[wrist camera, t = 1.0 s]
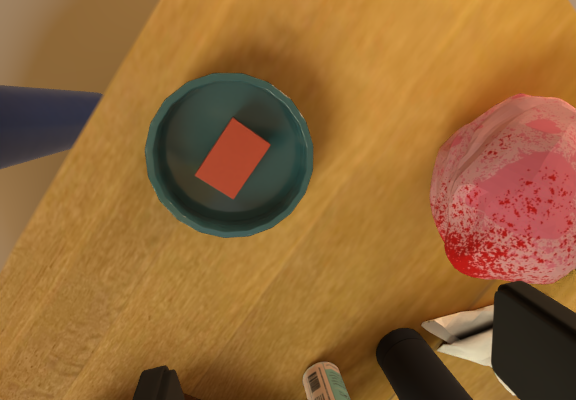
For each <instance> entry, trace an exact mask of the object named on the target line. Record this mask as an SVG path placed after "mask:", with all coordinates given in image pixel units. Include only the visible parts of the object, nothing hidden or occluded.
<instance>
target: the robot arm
mask: <svg viewBox="0 0 576 400" xmlns="http://www.w3.org/2000/svg"><path fill="white" fill-rule="evenodd" d="M491 365H492V368H493V370H494V372H495V374H496V375H497V376H498V377H499V378H500V379H501V380H502V381H503V382H504V383H505V384H506V385H507V386H508V388H509V389H510V390H511V391H512V392H513V393H514V394H515V395H516V396H517V397H518V398H519V399H520V400H576V313H575V312H573V311H571V310H570V309H568V308H567V307H565V306H563V305H562V304H560V303H558V302H557V301H555V300H554V299H552V298H550V297H549V296H547V295H545V294H544V293H542V292H540V291H539V290H537V289H536V288H534V287H532V286H531V285H529V284H527V283H526V282H524V281H515V282H511V283H506V284H502V285H500V286H499V287H498V291H497V292H496V293H495V296H494V314H493V332H492V351H491ZM132 400H185V398H184V395H183V392H182V389H181V386H180V382H179V379H178V376H177V373H176V371H175V370H169V369H168V367H167V366H161V367H157V368H152V369H148V370H144V371H143V372H142V374H141V376H140V379H139V382H138V385H137V388H136V390H135V393H134V396H133V399H132Z"/></svg>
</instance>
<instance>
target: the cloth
mask: <svg viewBox="0 0 576 400" xmlns="http://www.w3.org/2000/svg"><path fill="white" fill-rule="evenodd" d="M493 314H494V305H491V306H486V307H483V308H480V309H477V310H474V311H464V312H459V313H455V314H452V315H448V316H444V317H440V318H436V319H433V320H429V321H425V322H422V324H421V326H422V327H423V328H425V329H426V330H427V331H429V332H430V333H432V334H434V335H436V336H437V337H439V338H441V339H443V340H445V341H446V342H448V343H450V344H452V345H450V344H443V345H442V346H441V347H440V348H438V349H437V351H439V352H442V353H446V354H449V355H453V356H456V357H460V358H463V359H467V360H470V361H473V362H476V363H479V364H482V365H484V366H490V367H492V365H491V351H492V332H493ZM494 373H495V372H494ZM495 375H496V374H495ZM496 376H497V375H496ZM497 378H498V380H499V381H500V382H501V384H502V385H503V386H504V387H505V388H506V389H507V390H508V391H509V392H510V393H511V394H512V395H513V396H515V394H514V393H513V392H512V391H511V390H510V389H509V388H508V386H507V385H506V384H505V383H504V382H503V381H502V380H501V379H500V378H499V377H498V376H497Z"/></svg>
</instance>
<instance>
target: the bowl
mask: <svg viewBox="0 0 576 400" xmlns="http://www.w3.org/2000/svg"><path fill="white" fill-rule="evenodd" d="M232 117H234V118H235V119H237V120H238V121H239V122H241V123H242V124H244V125H245V126H247V127H248V128H249V129H251V130H252V131H254V132H255V133H256V134H258V135H259V136H261V137H262V138H264V139H265V140H266V141H268V142H269V143H270V144H271V146H270V147H269V148H268V150H267V151H266V153H265V154H264V156H263V157H262V159H261V160H260V162H259V163H258V164H257V166H256V167H255V169H254V170H253V172H252V173H251V175H250V176H249V178H248V179H247V180H246V182H245V183H244V185H243V186H242V188H241V189H240V191H239V192H238V193H237V195H236V196H235V198H234V199H232V198H230V197H229V196H227V195H226V194H224V193H222V192H221V191H219V190H217V189H216V188H214V187H213V186H211V185H209V184H208V183H206V182H204V181H203V180H201V179H200V178H198V177H196V176H195V174H196V172H197V170H198V168H199V167H200V165H201V164H202V162H203V161H204V159H205V158H206V156H207V155H208V153H209V152H210V150H211V148H212V147H213V145H214V144H215V142H216V141H217V139H218V138H219V136H220V135H221V133H222V132H223V130H224V129H225V127H226V126H227V124H228V123H229V121H230V120H231V118H232ZM145 156H146V164H147V172H148V177H149V180H150V182H151V184H152V186H153V188H154V190H155V192H156V194H157V196H158V198H159V200H160V202H161V203H162V204H163V205H164V206H165V207H166V208H167V209H168V210H169V211H170V212H171V213H172V214H173V215H174V216H175V217H176V218H177V219H178V220H179V221H181V222H183V223H184V224H186V225H188V226H190V227H192V228H193V229H195V230H197V231H199V232H201V233H206V234H210V235H214V236H219V237H223V238H224V237H225V238H230V237H245V236H251V235H254V234H256V233H259V232H262V231H265V230H267V229H270V228H272V227H274V226H275V225H276V224H278V223H279V222H280V221H282V220H283V219H284V218H286V217H287V216H288V215H290V214H291V213H292V211H293V210H294V208H295V207H296V206H297V204H298V203H299V202H300V200H301V199H302V197H303V196H304V195H305V193H306V190H307V187H308V184H309V181H310V178H311V175H312V172H313V143H312V140H311V136H310V133H309V130H308V126H307V123H306V120H305V119H304V118H303V116H302V115H301V113H300V112H299V110H298V109H297V107H296V106H295V104H294V103H293V101H292V100H291V99H290V98H289V97H287V96H286V95H285V94H283V93H282V92H281V91H280V90H278V89H277V88H276V87H274V86H273V85H272V84H270V83H269V82H266V81H263V80H261V79H258V78H255V77H252V76H249V75H246V74H242V73H212V74H209V75H206V76H203V77H201V78H198V79H195V80H192V81H189V82H187V83H185V84H184V85H183V86H182V87H180V88H179V89H178V90H176V91H175V92H174V93H173V94H171V95H170V96H169V97H168V98H166V99H165V100H164V102H163V104H162V105H161V107H160V108H159V110H158V112H157V113H156V115H155V117H154V118H153V120H152V121H151V124H150V127H149V132H148V137H147V142H146V146H145Z"/></svg>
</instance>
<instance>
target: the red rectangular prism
mask: <svg viewBox="0 0 576 400" xmlns="http://www.w3.org/2000/svg"><path fill="white" fill-rule="evenodd" d="M270 146H271V144H270V143H269V142H268V141H266V140H265V139H264V138H262V137H261V136H259V135H258V134H256V133H255V132H254V131H252V130H251V129H249V128H248V127H247V126H245V125H244V124H242V123H241V122H239V121H238V120H237V119H235V118H234V117H232V118H231V120H230V121H229V123H228V124H227V126H226V127H225V129H224V130H223V132H222V133H221V135H220V136H219V138H218V139H217V141H216V142H215V144H214V145H213V147H212V148H211V150H210V152H209V153H208V155H207V156H206V158H205V159H204V161H203V162H202V164H201V165H200V167H199V168H198V170H197V172H196V174H195V176H196V177H198V178H200V179H201V180H203V181H204V182H206V183H208V184H209V185H211V186H213V187H214V188H216V189H217V190H219V191H221V192H222V193H224V194H226V195H227V196H229V197H230V198H232V199H234V198H235V196H236V195H237V193H238V192H239V191H240V189H241V188H242V186H243V185H244V183H245V182H246V180H247V179H248V178H249V176H250V175H251V173H252V172H253V170H254V169H255V167H256V166H257V164H258V163H259V162H260V160H261V159H262V157H263V156H264V154H265V153H266V151H267V150H268V148H269V147H270Z"/></svg>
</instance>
